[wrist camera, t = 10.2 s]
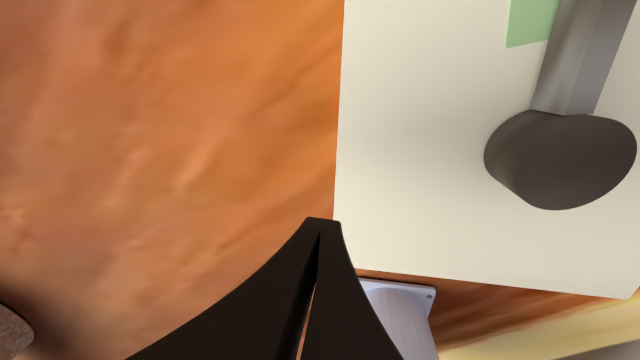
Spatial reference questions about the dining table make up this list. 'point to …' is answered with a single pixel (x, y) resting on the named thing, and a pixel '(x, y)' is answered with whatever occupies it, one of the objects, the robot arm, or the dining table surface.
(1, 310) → the ceramic pot
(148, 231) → the dining table surface
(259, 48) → the dining table surface
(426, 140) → the dial plate
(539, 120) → the grey lever with knob
